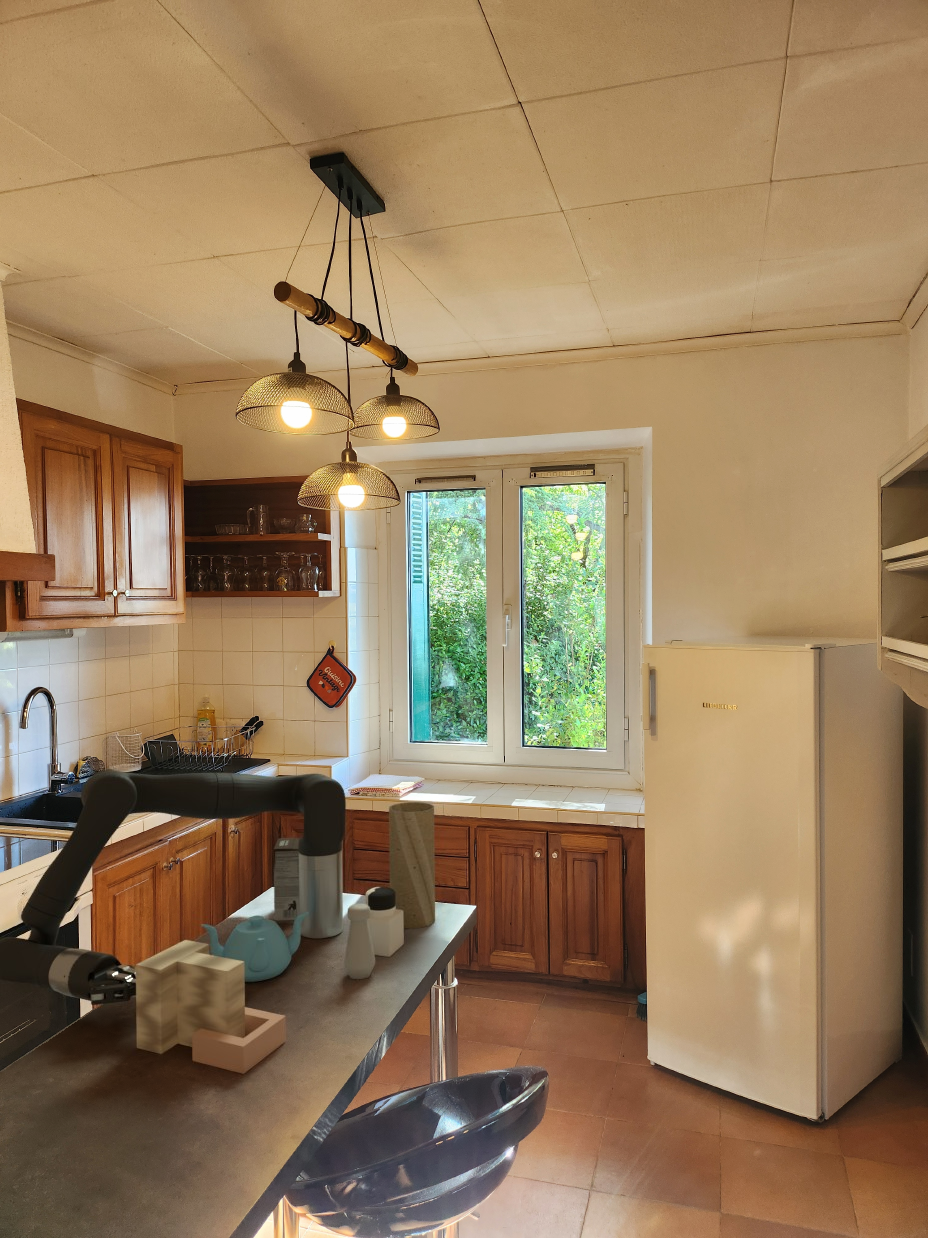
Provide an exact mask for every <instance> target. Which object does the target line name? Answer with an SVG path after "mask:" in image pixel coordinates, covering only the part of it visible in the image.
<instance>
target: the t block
mask: <svg viewBox="0 0 928 1238" xmlns="http://www.w3.org/2000/svg"><path fill="white" fill-rule="evenodd" d="M135 968H136V997H135V998H136V999H135V1000H136V1001H135V1004H136V1005H135V1006H136V1009H135V1010H136V1016H135V1017H136V1049H141V1050H144V1051H149V1052H152V1053H155V1054H156V1053H157V1054H159V1055H163V1054H164V1053H165V1052H168V1050H170V1049H172V1048H173V1047H174V1046H176V1045H178V1044H179V1045H183V1046H187V1047H191V1048H192V1034H194V1033H195V1032H197V1031H198V1030H200V1029H201V1028H202V1029H206V1030H210V1031H214V1032H219V1033H223V1034H227V1035H231V1036H236V1037H240V1038H245V1007H246V1000H245V999H246V997H245V996H246V995H245V994H246V990H245V989H246V988H245V987H246V986H245V985H246V984H245V983H246V982H245V973H244V961H239V960H234V959H229V958H223V957H218V956H213V955H212V954H210V944H209V943H205V942H199V941H193V940H189V939H184V940H182V941H180V942H178V943H176V944H175V945H173V946H170V947H169V948H166V949H165V950H162V951H161V952H159V953H158V952H157V953H156V954H154V955H153V956H151V957H148V958H146V959H144V960H142V961H140V962H139V963H136V965H135Z"/></svg>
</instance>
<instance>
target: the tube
mask: <svg viewBox="0 0 928 1238" xmlns="http://www.w3.org/2000/svg"><path fill="white" fill-rule="evenodd" d="M388 821H389V822H388V826H389V827H388V830H389V831H388V832H389V834H388V835H389V836H388V838H389V840H388V841H389V843H388V844H389V847H388V848H389V849H388V850H389V888H391V889H393V890H394V891H395V893H396V909H398V910H403V921H404V929H420V928H424V927H428V926H430V925H432V924H434V923H435V921H436V874H435V873H436V872H435V868H436V864H435V862H436V861H435V859H436V858H435V856H436V855H435V852H436V850H435V849H436V848H435V805H433V804H431V803H429V802H428V803H427V802H418V801H413V802H412V801H411V802H410V801H409V802H400V803H395V804H393V805H389V806H388Z"/></svg>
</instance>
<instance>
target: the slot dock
mask: <svg viewBox="0 0 928 1238" xmlns="http://www.w3.org/2000/svg"><path fill="white" fill-rule="evenodd" d="M286 1019H287V1016H286V1015H284V1014H278V1013H273V1012H269V1011H264V1010H260V1009H255V1008H251V1007H247V1006H245V1038H240V1037H236V1036H231V1035H227V1034H223V1033H219V1032H214V1031H210V1030H206V1029H202V1028H201V1029H200V1030H198V1031H197V1032H195V1033H194V1034H192V1047H191V1048H192V1049H191V1050H192V1051H191V1053H192V1062H196V1063H199V1064H204V1065H208V1066H212V1067H214V1068H215V1067H216V1068H219V1069H224V1070H227V1071H231V1072H235V1073H238V1074H246V1073H247V1072H248V1071H249V1070H251V1069H252V1068H254V1067H255V1066H256V1065H258V1063H260V1062H261V1061H262V1060H264V1059H265V1058H266V1057H267V1056H269V1055H270V1054H271V1053H273V1052H274V1051H275V1050H277V1048H279V1047H280V1046H281V1045H283V1044H284V1043H286V1042H287V1032H286V1031H287V1027H286V1026H287V1025H286V1023H287V1022H286V1021H287V1020H286Z"/></svg>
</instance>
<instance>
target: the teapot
mask: <svg viewBox="0 0 928 1238" xmlns="http://www.w3.org/2000/svg"><path fill="white" fill-rule="evenodd" d="M308 913H309V912H305V913H303V914H301V915H299V916H298V917H297V918H296V919H295V920H293V921H294V922H293V927H292V929H293V930H292V933H291V935H290V937H288V938H287V936H286V935H285V933H284V931H283V930H282V928H281V926H280V925H278V923H277V922H276V921H275V920H274V919H268V918H264V917H263V916H262V915H251V916H250V917H249V918H248V920H245V921H242V922H240V923H238V924H237V925H236V926H235V927H234V929H233V930H232V931H231V933H230V935H229V936H228V938H227V940H226V942H225V944H224V946H222V944H220V942H219V937H218V936H219V935H218V931H217V929H216V927H214V926H213V925H209V924H204V923H201V924H200V925H201V927H203V928H204V929H205V930H206V931H207V932H208V934H209V939H210V940H209V943H210V953H211V955H213V956H218V957H223V958H229V959H234V960H239V961H244V973H245V983H253V982H262V981H267V980H269V979H270V980H271V979H273V978H275V977H277V976H279V975H281V974H282V973H283V972H285V970H286V969H287V967H288V966H289V964H290V962H291V961H292V955H294V953H296V952H297V950H298V948H299V946H300V944H301V936H302V935H301V923H302V921H303V919H304V917H305V916H306V915H307V914H308Z"/></svg>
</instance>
